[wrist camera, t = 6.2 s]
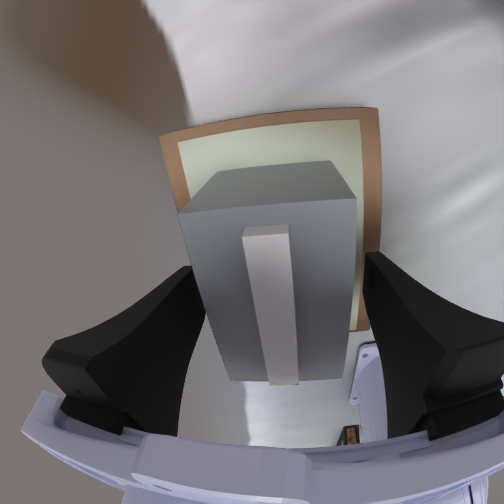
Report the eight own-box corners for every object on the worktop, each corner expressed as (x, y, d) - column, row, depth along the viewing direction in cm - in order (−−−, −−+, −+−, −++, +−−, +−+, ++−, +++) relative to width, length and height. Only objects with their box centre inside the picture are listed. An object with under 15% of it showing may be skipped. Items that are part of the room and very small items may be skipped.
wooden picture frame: (364, 309, 18) (370, 333, 16) (223, 318, 20) (216, 341, 18) (365, 107, 12) (379, 108, 10) (174, 131, 13) (156, 136, 11)
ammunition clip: (345, 450, 33) (345, 517, 22) (333, 451, 33) (332, 518, 23) (358, 424, 27) (362, 510, 17) (344, 426, 28) (345, 513, 17)
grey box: (330, 160, 11) (362, 206, 6) (332, 305, 15) (343, 389, 10) (217, 171, 12) (169, 222, 7) (245, 309, 16) (227, 390, 11)
